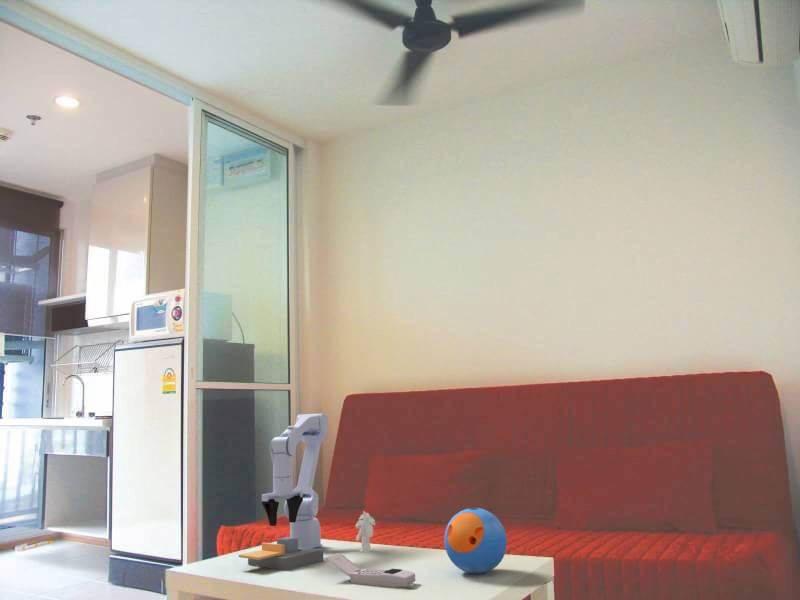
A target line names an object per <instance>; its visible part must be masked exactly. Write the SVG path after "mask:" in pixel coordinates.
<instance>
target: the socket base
mask: <svg viewBox="0 0 800 600" xmlns="http://www.w3.org/2000/svg"><path fill="white" fill-rule="evenodd" d="M320 562H324V549H321V548H305V547H298V551H297V552H293V553H289V554H287V553H285V554H283V555H278V556H274V557H270V558H265V559H261V560H255V559H248V558H247V565H248V564H249V565H250V566H255V565H258V566H257V567H261V566H264V567H263V568H268V567H270V568H269V569H275V570H284V571H288V570H293V569H296V567H297V568H300V567H305V566H308V565H312V564H315V563H320Z"/></svg>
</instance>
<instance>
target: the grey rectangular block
mask: <svg viewBox="0 0 800 600" xmlns="http://www.w3.org/2000/svg"><path fill="white" fill-rule="evenodd" d="M276 544H281V545H285V553H287V554H289V553H293V552H297V551H298V538H293V537H290V536H285V537H280V538H276Z"/></svg>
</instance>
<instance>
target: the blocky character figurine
mask: <svg viewBox="0 0 800 600" xmlns="http://www.w3.org/2000/svg"><path fill="white" fill-rule="evenodd" d="M373 526H374V527H375V526H376V519H374V517H372V515H370V514H369V512H366V511H364V510H363V512H362V514H360V516H359V517H358V520H357V522H356V523H355V528H356V529H357V530H359V531H358V534H357V536H356V537H355V540H356V542H359V541H360V539H361V549H359V553H368V552H369V551H372V547H371V543H370V538H372V537H373V536H374V534H373V533H374V527H373Z"/></svg>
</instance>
